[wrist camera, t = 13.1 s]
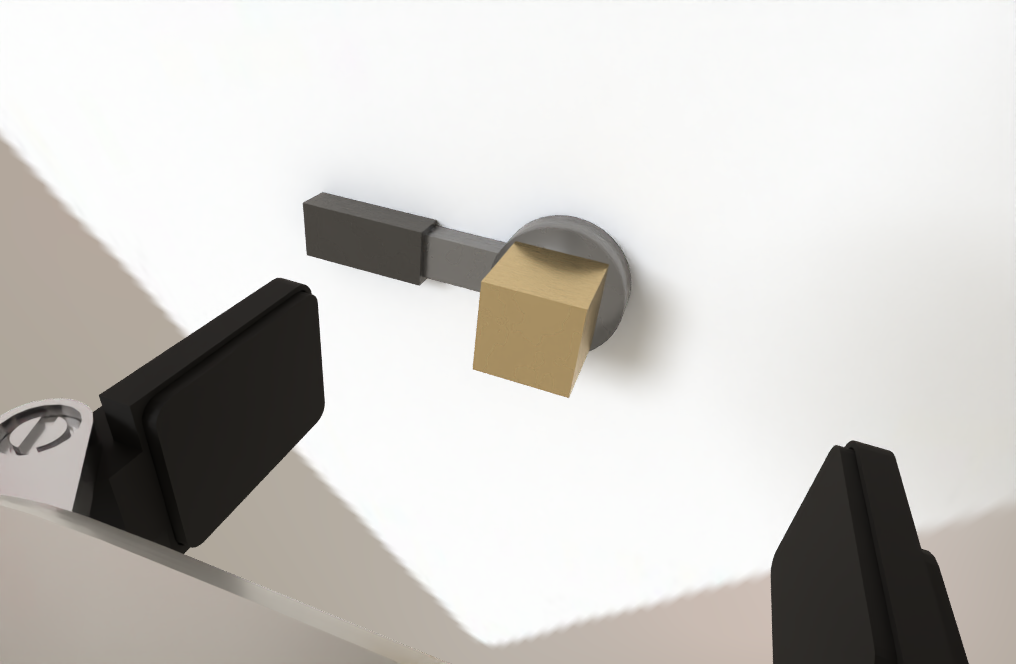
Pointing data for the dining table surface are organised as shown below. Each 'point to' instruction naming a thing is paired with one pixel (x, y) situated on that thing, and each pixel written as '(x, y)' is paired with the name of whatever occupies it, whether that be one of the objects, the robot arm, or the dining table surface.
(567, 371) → the brushed gold cube
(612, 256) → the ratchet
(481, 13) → the dining table surface
